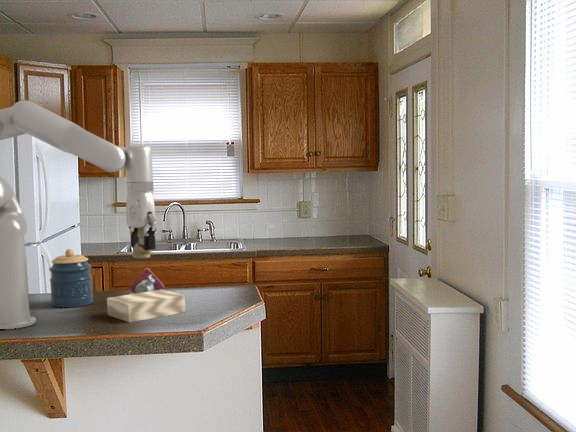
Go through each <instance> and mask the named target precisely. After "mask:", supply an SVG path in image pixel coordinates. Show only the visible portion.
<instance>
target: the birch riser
mask: <svg viewBox="0 0 576 432" xmlns="http://www.w3.org/2000/svg"><path fill="white" fill-rule="evenodd" d="M154 290H155V289H154ZM129 294H130V293H129ZM129 294H124V295H118V296H112V297H111V296H110V297H107V298H106V304H107V315H108V316H110V317H112V318H115V319H118V320H121V321H124V322H126V323H134V322H135V323H136V322H139V321H144V320H145V321H146V320H150V319H151V320H152V319H156V318H162V317H167V316H172V315H177V314H182V313H186V296H185V294H182V293H181V294H180V293H177V292H172V291H168V290H165V289H164V290H155V291H149V292H142V293H136V294H130V295H129Z"/></svg>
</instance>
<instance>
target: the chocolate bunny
mask: <svg viewBox="0 0 576 432" xmlns="http://www.w3.org/2000/svg"><path fill="white" fill-rule="evenodd" d="M144 236H145V233H144V230H143V227H142V228H138V238H139V241H138V243H136V244H135V246H134V248H132V253H131V255H132V258H135V259H143V260H144V259H150V258H151V251H152V250H145V246H144Z"/></svg>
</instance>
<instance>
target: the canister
mask: <svg viewBox="0 0 576 432" xmlns="http://www.w3.org/2000/svg"><path fill="white" fill-rule="evenodd" d="M88 261H89V258H88V257H86V256H85V255H84V254H75V253H74V250H73V249H70V248H69V249H66V250H65V254H64V255H58V256H55V258H54V259H52V260H51V264H52V266H50V267H49V268H48V270H49V271H50V278H49V281H50V302H51V303H50V304H51V306H52V307H55V308H60V307H62V309H63V308H64V307H69V308H79V307H84V306H87V305H91V304H92V303H93V302H94V301H93V300H94V293H93V281H92V279H93V276H92V274H91V268H92V265H91V264H89V263H88ZM64 309H65V308H64Z"/></svg>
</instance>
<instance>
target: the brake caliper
mask: <svg viewBox="0 0 576 432" xmlns="http://www.w3.org/2000/svg"><path fill="white" fill-rule="evenodd" d="M143 276H144V277H143ZM155 290H165V285H164V284H163V282H162V281H161V280H160V279H159V278H158V277H157V276H156V275H155V274H154V272H152V271H151V269H150V268H148V267H146V268H144V269H143V270H142V271H141V272H140V274H138V276H137V277H136V278H134V280H133V281H132V283H131V284H130V291H131V292H130V293H129V294H128V295H130V294H136V293H142V292H149V291H155Z"/></svg>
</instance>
